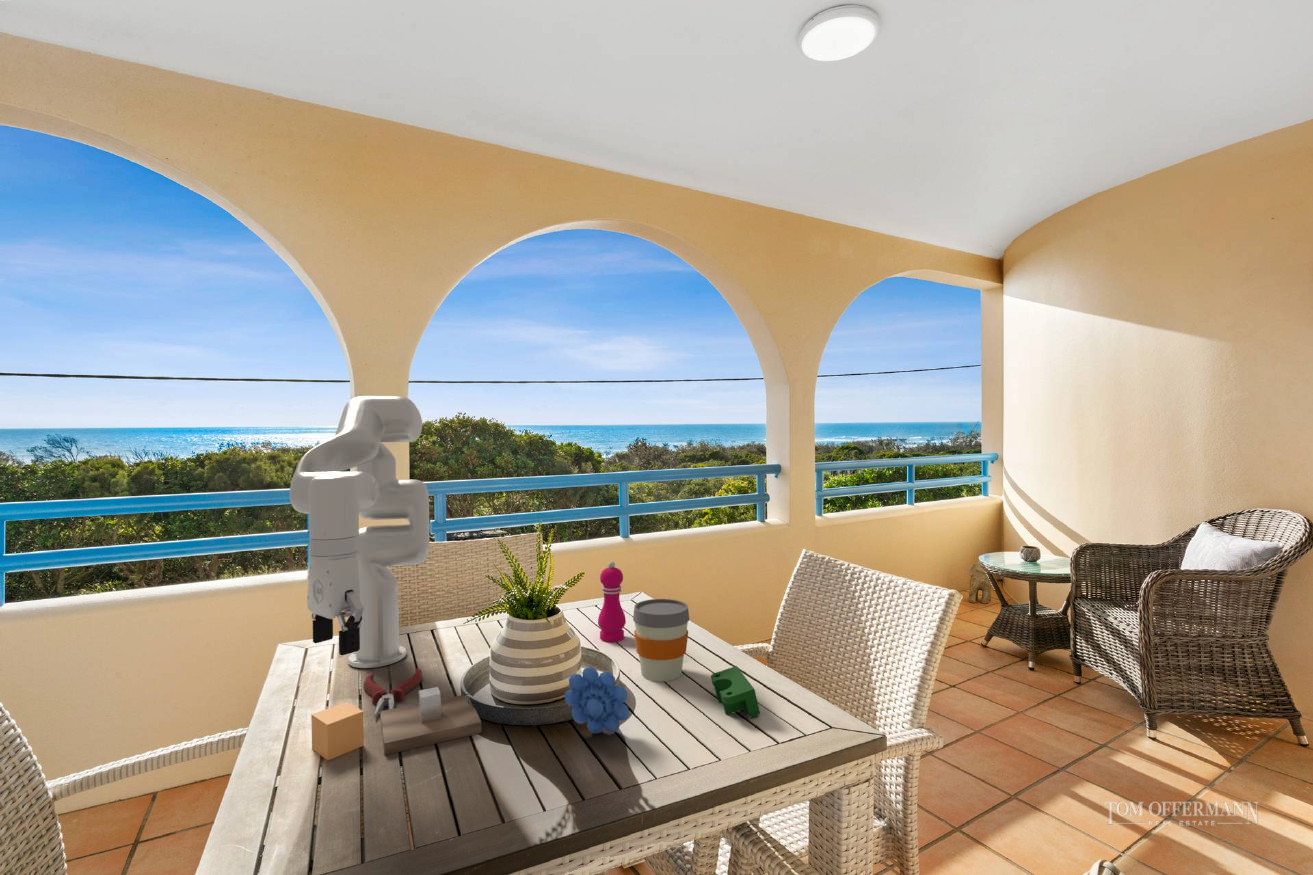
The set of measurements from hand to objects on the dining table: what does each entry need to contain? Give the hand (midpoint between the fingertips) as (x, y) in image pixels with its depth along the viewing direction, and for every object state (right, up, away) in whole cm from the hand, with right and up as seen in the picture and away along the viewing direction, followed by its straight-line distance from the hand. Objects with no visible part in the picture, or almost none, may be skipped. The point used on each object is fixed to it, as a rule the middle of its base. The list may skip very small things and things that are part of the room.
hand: (335, 646), depth 105 cm
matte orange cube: (0, -18, +1) cm, 18 cm away
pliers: (-1, -18, +21) cm, 28 cm away
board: (+13, -17, +7) cm, 23 cm away
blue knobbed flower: (+44, -18, +4) cm, 48 cm away
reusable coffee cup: (+56, -17, +32) cm, 67 cm away
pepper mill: (+43, -17, +54) cm, 71 cm away
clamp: (+70, -17, +15) cm, 74 cm away
